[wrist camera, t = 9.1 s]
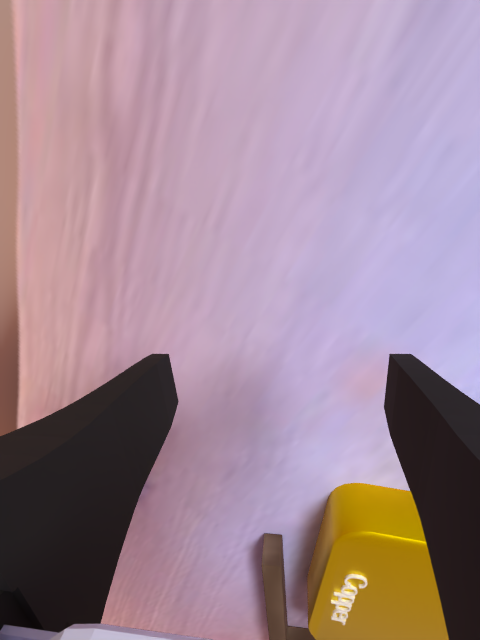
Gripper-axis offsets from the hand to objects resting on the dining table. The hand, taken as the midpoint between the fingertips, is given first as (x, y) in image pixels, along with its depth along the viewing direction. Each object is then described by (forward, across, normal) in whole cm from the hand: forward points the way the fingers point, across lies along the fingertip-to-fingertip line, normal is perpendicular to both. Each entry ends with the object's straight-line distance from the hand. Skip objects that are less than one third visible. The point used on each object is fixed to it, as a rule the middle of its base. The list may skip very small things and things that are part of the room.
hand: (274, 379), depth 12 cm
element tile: (+10, -9, +24) cm, 28 cm away
